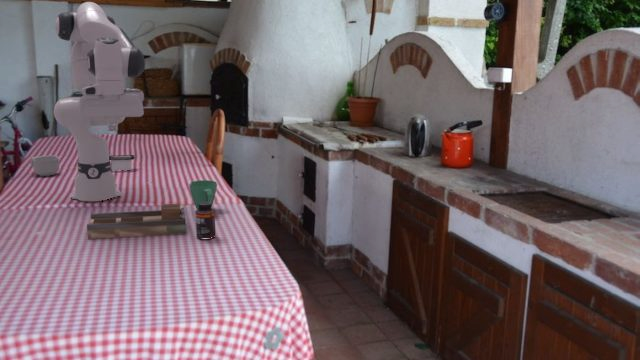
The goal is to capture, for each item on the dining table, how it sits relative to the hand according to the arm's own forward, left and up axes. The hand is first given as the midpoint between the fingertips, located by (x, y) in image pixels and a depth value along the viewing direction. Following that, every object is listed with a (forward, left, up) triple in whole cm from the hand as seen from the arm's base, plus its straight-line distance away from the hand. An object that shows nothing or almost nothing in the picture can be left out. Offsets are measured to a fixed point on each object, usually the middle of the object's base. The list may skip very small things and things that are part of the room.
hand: (112, 130), depth 210 cm
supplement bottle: (+24, +28, -31) cm, 48 cm away
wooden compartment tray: (+12, +7, -31) cm, 34 cm away
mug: (-6, +30, -31) cm, 44 cm away
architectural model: (-83, -3, -32) cm, 89 cm away
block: (+12, +18, -28) cm, 35 cm away
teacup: (-80, -36, -31) cm, 93 cm away
